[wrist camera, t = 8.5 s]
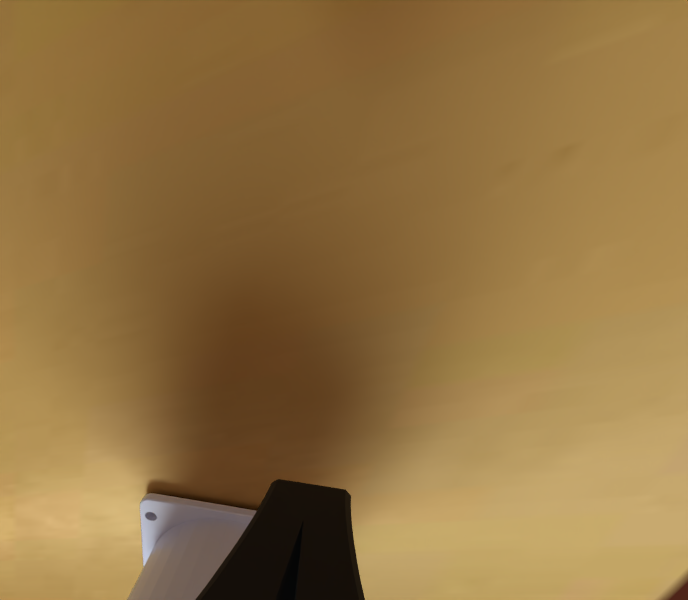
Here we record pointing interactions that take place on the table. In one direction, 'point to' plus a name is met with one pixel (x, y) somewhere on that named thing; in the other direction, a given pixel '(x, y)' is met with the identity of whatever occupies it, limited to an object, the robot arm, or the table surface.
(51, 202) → the table surface
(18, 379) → the table surface
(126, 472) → the table surface
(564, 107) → the table surface
